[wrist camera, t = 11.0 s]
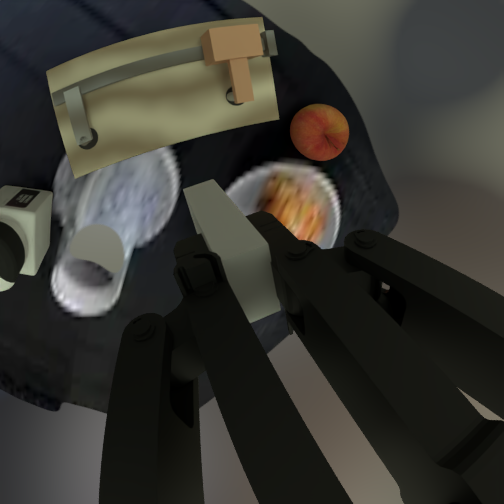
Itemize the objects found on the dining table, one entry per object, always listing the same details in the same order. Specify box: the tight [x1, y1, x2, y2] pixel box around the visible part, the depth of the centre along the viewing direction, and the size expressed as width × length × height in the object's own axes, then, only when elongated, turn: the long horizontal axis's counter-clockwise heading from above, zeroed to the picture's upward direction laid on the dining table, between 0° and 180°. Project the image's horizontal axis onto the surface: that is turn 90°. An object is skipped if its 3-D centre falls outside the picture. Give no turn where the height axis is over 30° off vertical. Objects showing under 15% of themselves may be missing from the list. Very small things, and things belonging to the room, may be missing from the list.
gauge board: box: [46, 17, 279, 179], centre depth 28 cm, size 14×26×4 cm, turn 100°
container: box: [0, 185, 53, 291], centre depth 24 cm, size 8×8×13 cm
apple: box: [290, 104, 349, 161], centre depth 34 cm, size 7×7×8 cm
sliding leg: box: [200, 24, 264, 104], centre depth 27 cm, size 8×5×6 cm, turn 10°
